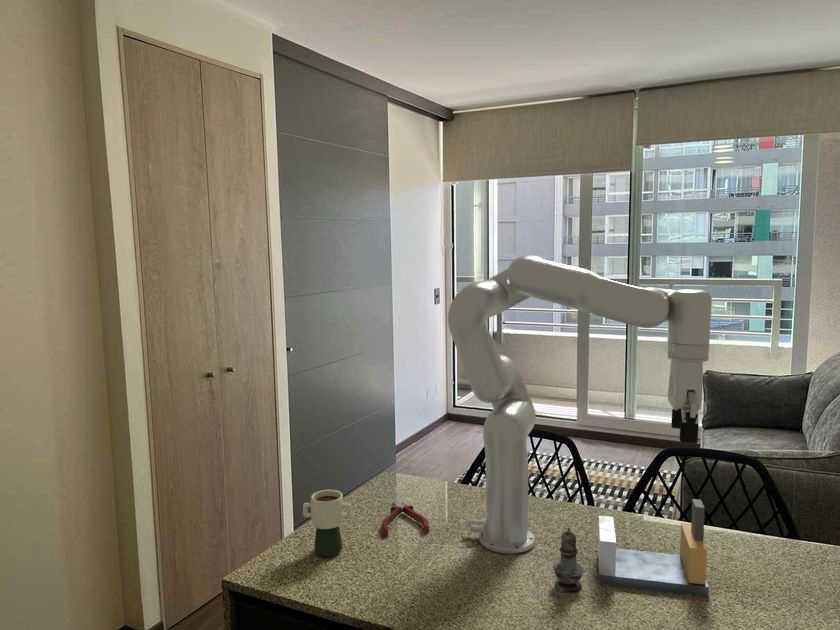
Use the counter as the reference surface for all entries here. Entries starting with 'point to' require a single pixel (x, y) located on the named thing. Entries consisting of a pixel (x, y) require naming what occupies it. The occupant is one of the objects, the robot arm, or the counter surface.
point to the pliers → (407, 510)
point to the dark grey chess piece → (568, 565)
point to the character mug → (327, 520)
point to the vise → (641, 566)
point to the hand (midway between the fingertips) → (683, 435)
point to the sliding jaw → (694, 545)
